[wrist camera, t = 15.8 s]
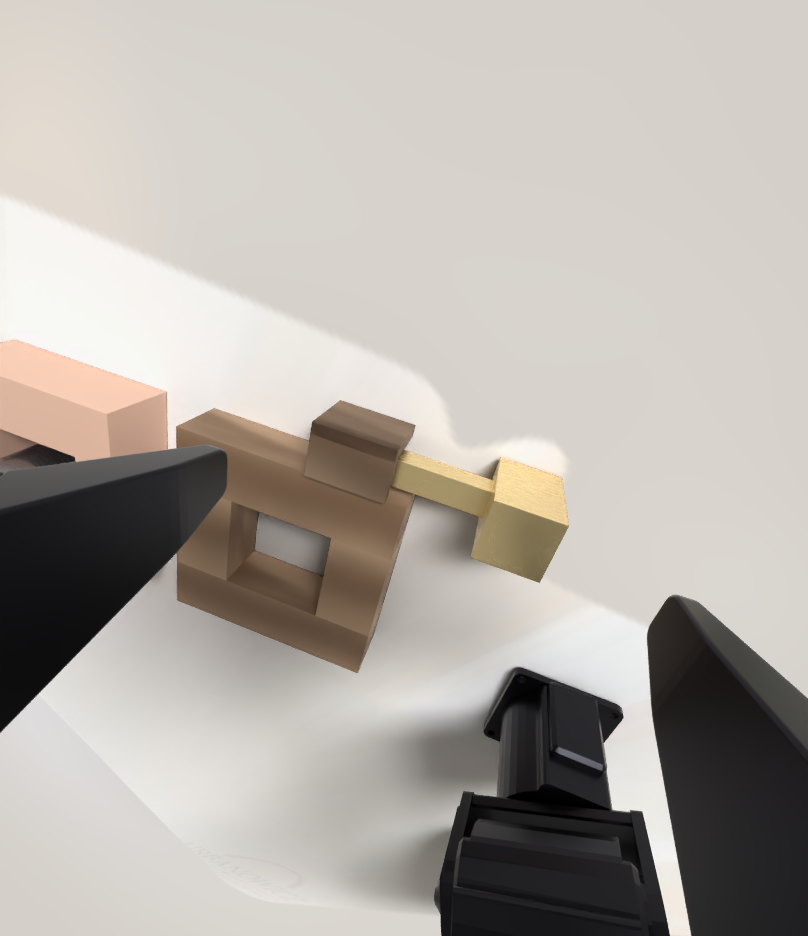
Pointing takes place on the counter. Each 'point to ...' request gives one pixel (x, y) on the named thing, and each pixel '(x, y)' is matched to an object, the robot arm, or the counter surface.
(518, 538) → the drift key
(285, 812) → the counter surface
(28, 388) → the block
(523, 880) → the robot arm
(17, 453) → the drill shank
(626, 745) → the counter surface
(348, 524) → the socket block
